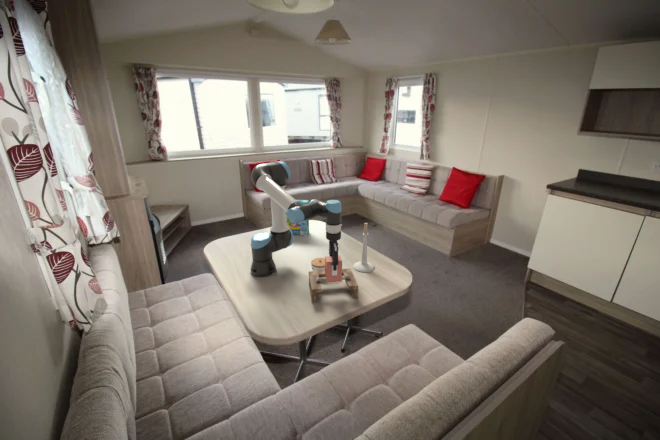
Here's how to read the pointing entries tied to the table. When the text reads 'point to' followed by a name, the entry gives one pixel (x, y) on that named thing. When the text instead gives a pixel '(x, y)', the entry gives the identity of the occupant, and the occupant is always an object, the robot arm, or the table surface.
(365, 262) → the candlestick
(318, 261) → the lidded jar
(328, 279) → the salmon red channel block
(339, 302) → the table surface
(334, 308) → the table surface
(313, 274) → the wooden frame with rod
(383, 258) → the table surface
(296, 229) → the game box
